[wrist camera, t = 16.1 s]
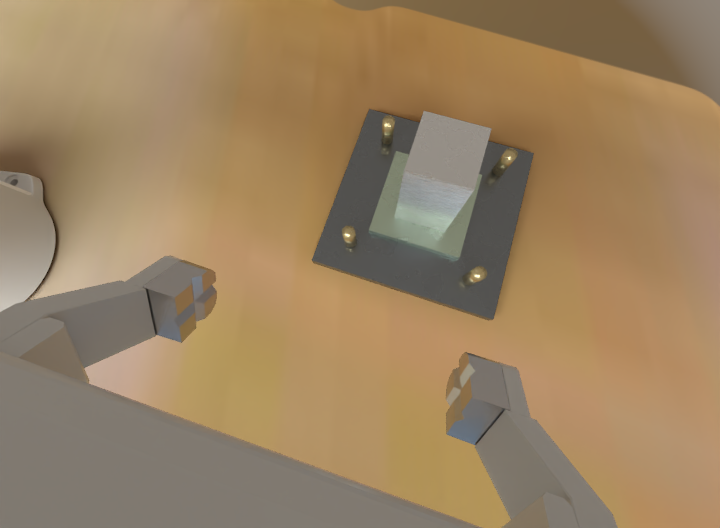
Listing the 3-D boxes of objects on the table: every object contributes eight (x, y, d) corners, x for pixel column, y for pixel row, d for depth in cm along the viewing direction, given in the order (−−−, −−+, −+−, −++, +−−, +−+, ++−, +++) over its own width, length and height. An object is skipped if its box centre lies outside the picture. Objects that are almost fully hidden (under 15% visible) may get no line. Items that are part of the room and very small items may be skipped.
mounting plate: (313, 263, 32) (305, 252, 28) (369, 116, 36) (369, 88, 32) (488, 320, 30) (506, 317, 26) (528, 159, 34) (549, 135, 30)
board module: (368, 232, 31) (368, 186, 22) (395, 155, 33) (405, 82, 24) (457, 259, 30) (496, 224, 21) (479, 178, 32) (525, 112, 23)
